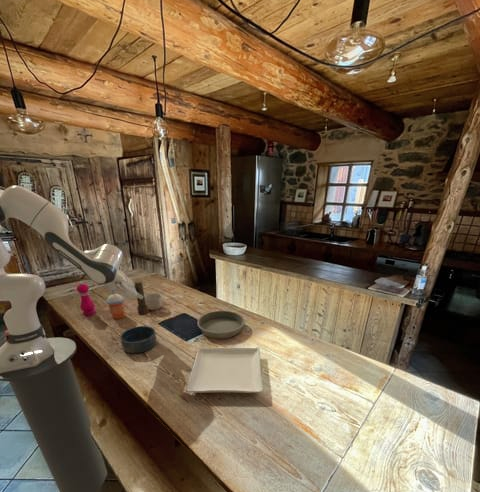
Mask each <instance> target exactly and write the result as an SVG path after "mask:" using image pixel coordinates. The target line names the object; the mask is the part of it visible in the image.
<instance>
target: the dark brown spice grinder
mask: <svg viewBox="0 0 480 492" xmlns="http://www.w3.org/2000/svg"><path fill="white" fill-rule="evenodd" d="M133 283H134V286H135V289H136V291H137V292H138V293H139V294H141V295H143V298H142V299H139V298H137V297H136V300H137V306H136V308H137V313H138V315H139V316H147V315H148V314H149V313H150V312H149V309H148V306H147V304H146V303H145V297H144V296H145V292H144V291H145V290H144V286H143V281H141V280H136V281H133Z"/></svg>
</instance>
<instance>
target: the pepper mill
mask: <svg viewBox="0 0 480 492" xmlns="http://www.w3.org/2000/svg"><path fill="white" fill-rule="evenodd" d="M89 289H90V287H89V285H88V284H86V283H84V281H80V282H79V284H78V285H77V286H76V291H77V292H78V295H79V296H80V299H81V300H80V310H81V311H82V314H83V316H86V317H88V316H92V315H94V314H95V313H96V309H95V307H96V306H95V303H94V301H92V299H91V298H90V291H89Z"/></svg>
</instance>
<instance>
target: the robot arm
mask: <svg viewBox="0 0 480 492" xmlns="http://www.w3.org/2000/svg"><path fill="white" fill-rule="evenodd" d="M9 218H10V219H16V220H19V221H21V222H22V223H24V224H25V225H27V226H29V227H31V228H32V229H34V230H35V231H36V232H37V233H39V234H40V236H42V237H43V238H44V242H45V243H46V245H48V246H49V247H50V249H51V250H53V251H54V252H55V253H57V254H59V255H60V256H61V257H62V258H64V260H66V261H67V262H69V263H70V264H72V265H73V266H75V267H76V268H77V269H78V270H80V271H81V272H82V273H83V274H84V275H85V276H86V277H87V278H88V279H89V280H91V281H92V282H94V283H95V284H99V285H104V286H106V287H107V288H109V289H110V290H112V289H114V290H115V289H117V291H118V292H119V293H120V295H121V294H122V295H123V296H124V297H126V298H127V299H128V300H131V301H134V300H135V299H137V298H139V299H142V298H143V295H141V294H139V293H138V292H137V291H136V289H135V285H134V281H133V280H132V279H131V278H130V277H128V276H127V275H126V274H125V273H124V271H122V270H120V269H119V268H120V266H121V263H122V261H123V258H124V253H123V251H122V249H120V247H118V246H117V245H115V244H113V243H103V244H102V245H101V246H98V247H97V248H93V249H91V250H90V249H89V250H88V249H85V250H84V251H83V250H81V249H80V248H79V247H77V246H76V245H75V244H74V243H73V242H72V240H71V239H70V236H69V235H70V234H69V220H68V217H67V215H66V213H65V212H64V211H63V210H62V209H61V208H59V207H58V206H57V205H55V204H54V203H53V202H51V201H49V200H47V199H46V198H44V197H43V196H41V195H40V194H38V193H37V192H34V191H32V190H30V189H28V188H25V187H24V186H21V185H11V186H8V187H7V188H6V187H5V186H1V185H0V224H3V223H4V222H6V221H7V220H8V219H9ZM10 261H11V254H10V253H9V251H8V249H7V247H6V245H5V243H4V242H3V240H2V238H1V237H0V302H10V306H11V308H10V309H8V310H6V311H5V313H4V315H3V321H4V324H5V326H6V328H7V329H6V330H5V331H4V335H3V336H4V337H3V338H4V341H5V342H4V343H3V344H2V345H1V346H0V373H4V372H9V371H14V370H20V369H25V368H30V367H35V366H37V365H38V364H40V363H41V362H42V361H44V360H45V359H47V358H49V357H50V356H51V355H52V354H53V353H54V349H53V348H52V346H51V345H50V344H49V342H48V340H47V337H46V332H45V329H44V327H43V324H42V323H41V322H40V319H39V316H38V315H39V314H38V312H37V303H38V301H39V299H40V298H41V297H42V296H43V295H44V294H45V292H46V283H45V281H44V279H43V278H42V277H41V276H39V275H38V274H31V273H25V272H23V273H7V272H6V271H5V267H6V266H7V265H9V263H10Z"/></svg>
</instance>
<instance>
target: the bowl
mask: <svg viewBox="0 0 480 492" xmlns="http://www.w3.org/2000/svg"><path fill="white" fill-rule="evenodd" d="M119 341H120V344H121V348H122V350H123V351H124V352H126V353H130V354H138V353H143V352H146V351H148V350H150V349H152V348H153V347H155V346H156V344H157V334H156V330H155V328H153V327H151V326H147V325H139V326H133V327H130V328H128V329H126V330H124V331H123V332H122V333H121V334H120V336H119Z"/></svg>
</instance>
